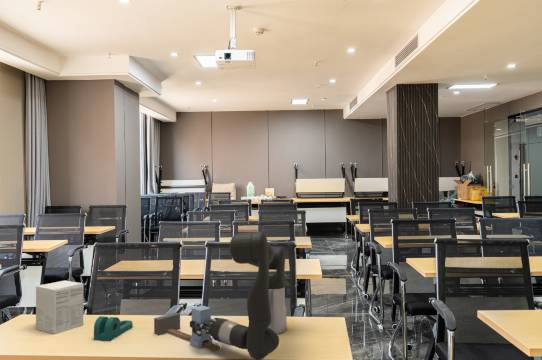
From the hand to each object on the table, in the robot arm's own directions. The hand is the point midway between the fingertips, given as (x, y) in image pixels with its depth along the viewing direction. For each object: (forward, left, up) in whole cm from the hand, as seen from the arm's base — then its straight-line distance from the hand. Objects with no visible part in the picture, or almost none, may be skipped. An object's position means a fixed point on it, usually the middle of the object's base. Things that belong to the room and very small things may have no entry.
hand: (196, 321), depth 152 cm
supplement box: (+26, -57, -8) cm, 63 cm away
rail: (0, -3, -7) cm, 8 cm away
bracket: (+14, -33, -8) cm, 37 cm away
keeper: (0, +3, -7) cm, 8 cm away
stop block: (0, -19, -7) cm, 20 cm away
